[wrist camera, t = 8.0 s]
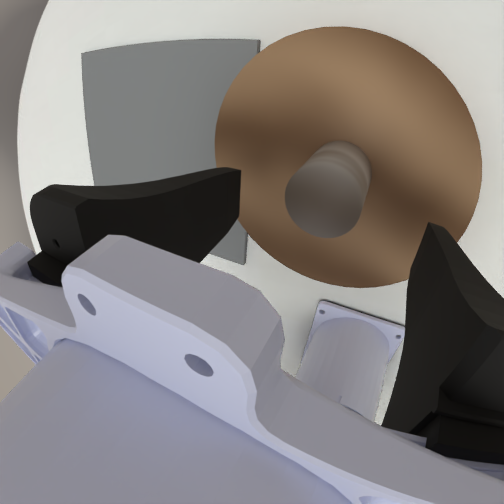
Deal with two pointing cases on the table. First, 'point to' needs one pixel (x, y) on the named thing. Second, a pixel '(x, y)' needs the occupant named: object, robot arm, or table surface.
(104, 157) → the mat
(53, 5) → the table surface
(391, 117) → the lid
